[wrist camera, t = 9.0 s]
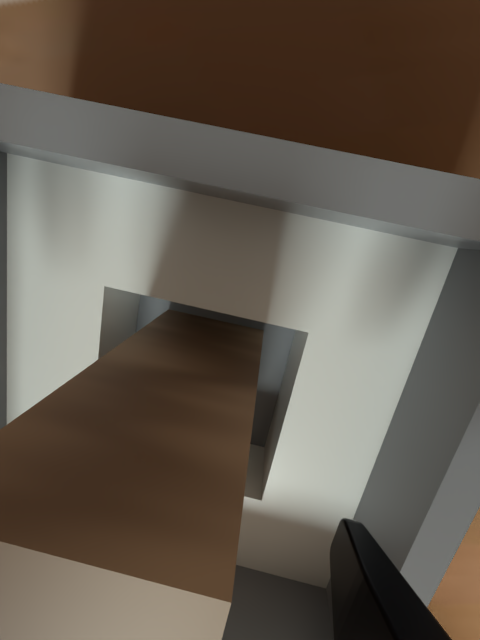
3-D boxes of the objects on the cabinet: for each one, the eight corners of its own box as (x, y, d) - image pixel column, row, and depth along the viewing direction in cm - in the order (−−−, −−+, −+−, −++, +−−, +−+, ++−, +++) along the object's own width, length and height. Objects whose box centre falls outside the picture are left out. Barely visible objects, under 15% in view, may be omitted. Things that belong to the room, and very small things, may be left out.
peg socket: (437, 222, 12) (633, 209, 6) (328, 524, 16) (365, 727, 10) (63, 144, 13) (-166, 50, 6) (49, 453, 17) (-98, 595, 10)
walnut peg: (263, 330, 13) (230, 602, 3) (244, 415, 14) (178, 801, 5) (168, 309, 13) (-114, 510, 4) (156, 394, 14) (-85, 723, 5)
